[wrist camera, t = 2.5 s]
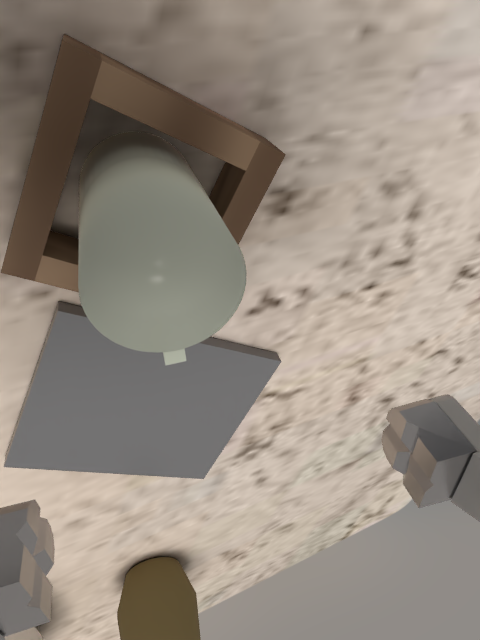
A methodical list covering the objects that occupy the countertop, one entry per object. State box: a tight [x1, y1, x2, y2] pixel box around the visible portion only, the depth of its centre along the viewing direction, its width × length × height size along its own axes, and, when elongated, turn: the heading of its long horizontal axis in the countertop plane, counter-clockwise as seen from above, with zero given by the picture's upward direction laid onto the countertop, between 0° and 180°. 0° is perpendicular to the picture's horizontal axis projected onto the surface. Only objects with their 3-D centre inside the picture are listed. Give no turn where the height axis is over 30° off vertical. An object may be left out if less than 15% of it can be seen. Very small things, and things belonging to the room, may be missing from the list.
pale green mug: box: [78, 131, 246, 365], centre depth 20 cm, size 8×6×10 cm
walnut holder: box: [1, 34, 286, 292], centre depth 22 cm, size 10×10×3 cm
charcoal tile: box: [4, 302, 281, 479], centre depth 32 cm, size 16×14×1 cm
